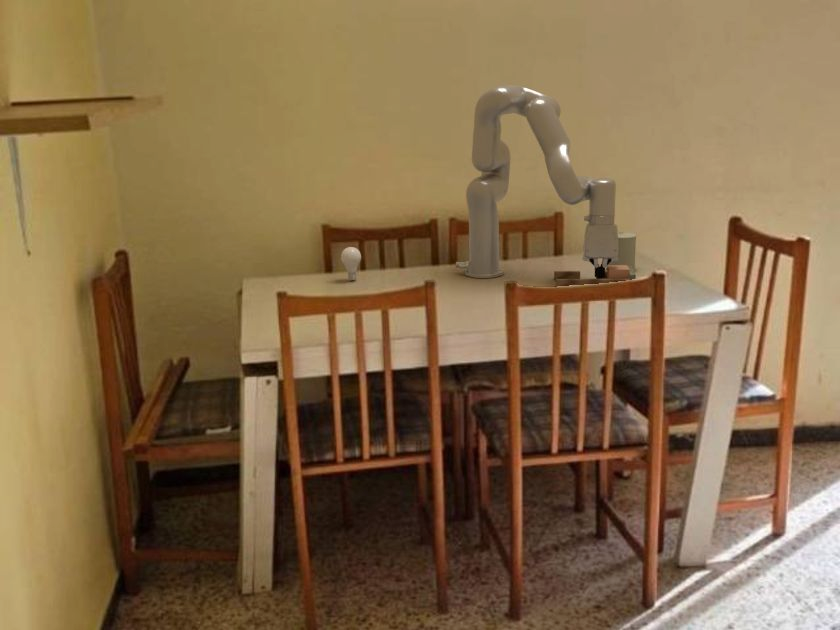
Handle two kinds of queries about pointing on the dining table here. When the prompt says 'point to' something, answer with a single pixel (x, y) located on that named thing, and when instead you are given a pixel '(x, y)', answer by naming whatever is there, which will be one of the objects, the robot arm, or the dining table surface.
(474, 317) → the dining table surface
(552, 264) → the dining table surface
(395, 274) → the dining table surface
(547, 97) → the robot arm
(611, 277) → the block
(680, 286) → the dining table surface
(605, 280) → the channel
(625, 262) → the can
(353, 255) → the lightbulb
